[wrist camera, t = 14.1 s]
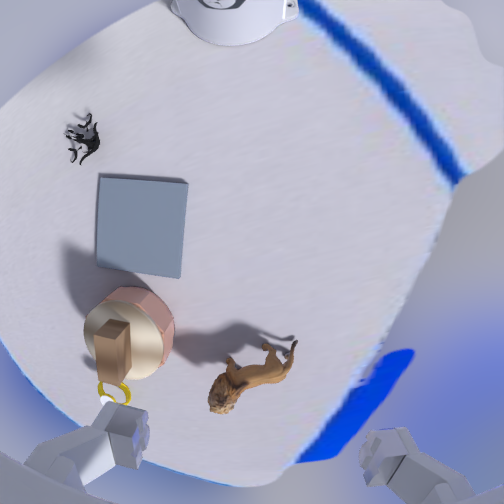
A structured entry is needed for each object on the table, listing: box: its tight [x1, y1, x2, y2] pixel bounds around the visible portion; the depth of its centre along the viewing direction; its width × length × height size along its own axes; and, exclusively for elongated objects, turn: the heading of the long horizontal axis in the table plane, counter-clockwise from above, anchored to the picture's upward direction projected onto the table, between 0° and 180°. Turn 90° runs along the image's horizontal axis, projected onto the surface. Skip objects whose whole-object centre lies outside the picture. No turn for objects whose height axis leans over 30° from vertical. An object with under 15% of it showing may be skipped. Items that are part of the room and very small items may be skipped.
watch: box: [98, 381, 131, 405], centre depth 46 cm, size 6×3×6 cm, turn 47°
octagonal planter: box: [86, 286, 175, 368], centre depth 43 cm, size 12×12×6 cm
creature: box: [65, 114, 100, 165], centre depth 38 cm, size 8×5×8 cm
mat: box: [97, 178, 188, 279], centre depth 42 cm, size 13×13×1 cm
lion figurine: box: [208, 340, 298, 414], centre depth 43 cm, size 15×5×9 cm, turn 122°
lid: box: [84, 300, 164, 386], centre depth 37 cm, size 12×12×6 cm
